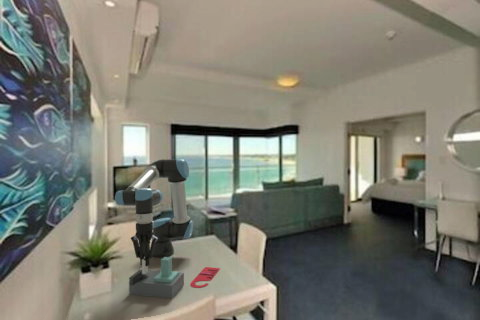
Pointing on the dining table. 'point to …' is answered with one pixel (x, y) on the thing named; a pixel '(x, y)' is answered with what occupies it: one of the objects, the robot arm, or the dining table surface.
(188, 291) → the dining table surface
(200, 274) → the door hanger
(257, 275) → the dining table surface
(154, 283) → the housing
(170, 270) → the cover
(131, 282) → the grey lever handle
